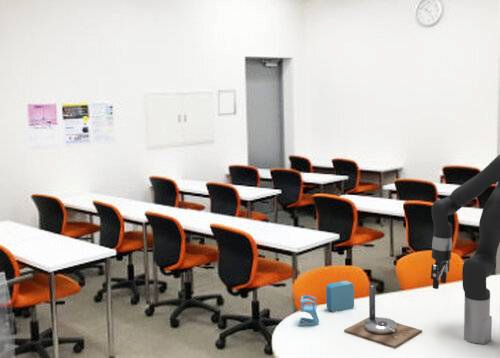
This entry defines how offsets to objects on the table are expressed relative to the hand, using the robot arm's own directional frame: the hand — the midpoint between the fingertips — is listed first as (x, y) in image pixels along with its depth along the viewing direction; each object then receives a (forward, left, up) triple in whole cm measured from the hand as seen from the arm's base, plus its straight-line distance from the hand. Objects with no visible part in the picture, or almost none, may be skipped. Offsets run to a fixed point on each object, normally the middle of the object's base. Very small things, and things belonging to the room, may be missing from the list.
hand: (439, 285), depth 237 cm
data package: (+44, +9, -18) cm, 48 cm away
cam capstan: (+15, +19, -17) cm, 29 cm away
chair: (+44, +31, -18) cm, 57 cm away
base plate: (+15, +19, -18) cm, 30 cm away
